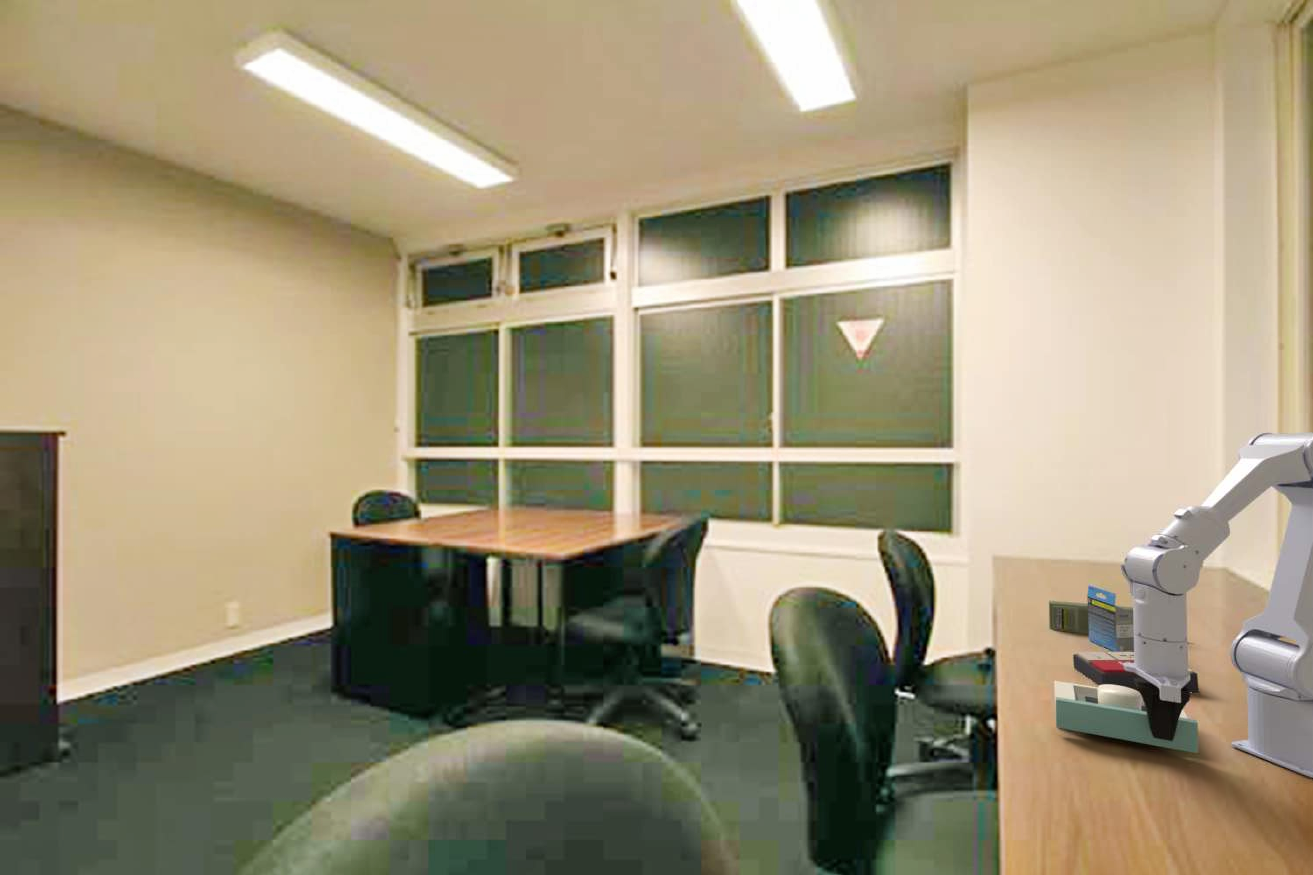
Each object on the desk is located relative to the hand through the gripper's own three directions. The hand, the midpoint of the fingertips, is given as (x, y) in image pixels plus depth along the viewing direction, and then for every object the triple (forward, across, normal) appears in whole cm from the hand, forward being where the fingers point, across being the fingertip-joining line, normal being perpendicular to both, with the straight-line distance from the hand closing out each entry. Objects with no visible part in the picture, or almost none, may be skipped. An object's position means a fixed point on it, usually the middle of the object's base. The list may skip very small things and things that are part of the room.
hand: (1162, 737), depth 86 cm
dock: (+3, -9, -4) cm, 11 cm away
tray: (+2, -7, -4) cm, 8 cm away
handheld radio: (+3, -67, +1) cm, 67 cm away
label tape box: (+3, -56, -1) cm, 56 cm away
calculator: (+3, -35, 0) cm, 35 cm away
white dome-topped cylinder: (+1, -7, -4) cm, 8 cm away
